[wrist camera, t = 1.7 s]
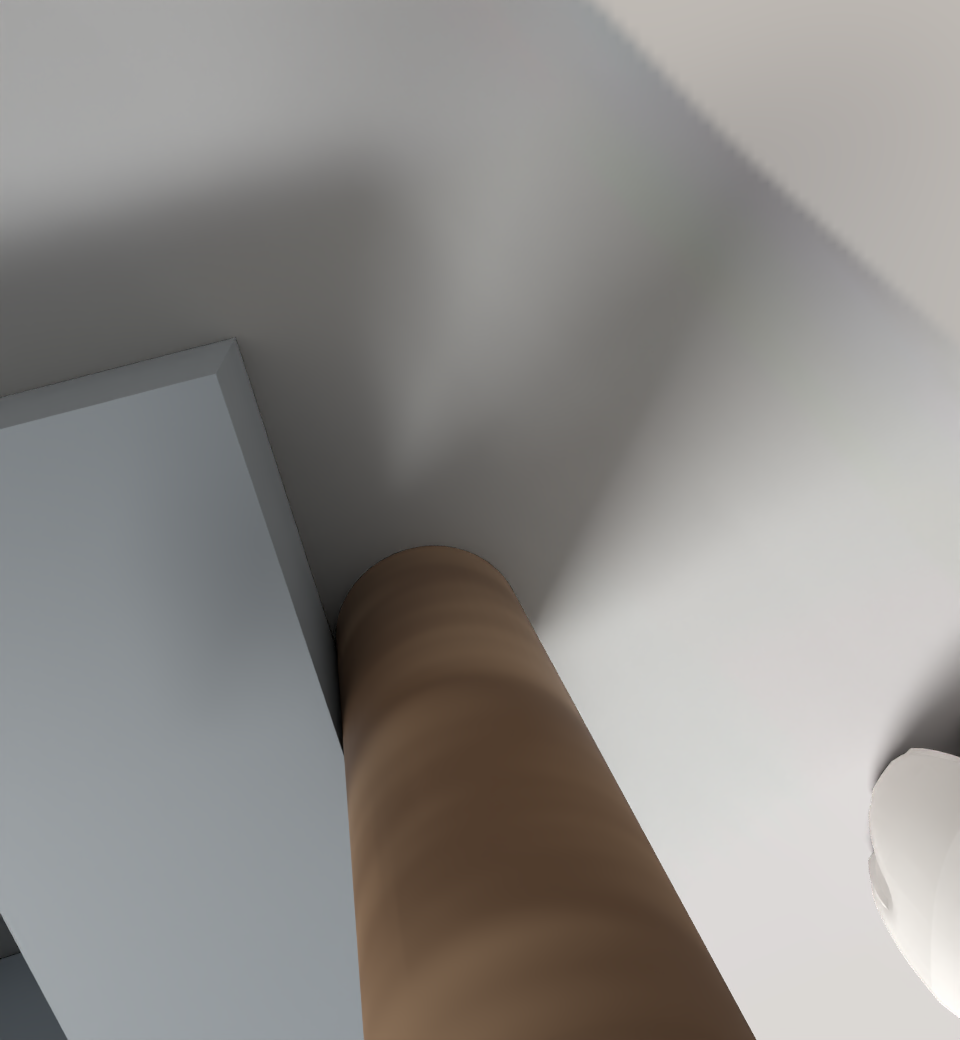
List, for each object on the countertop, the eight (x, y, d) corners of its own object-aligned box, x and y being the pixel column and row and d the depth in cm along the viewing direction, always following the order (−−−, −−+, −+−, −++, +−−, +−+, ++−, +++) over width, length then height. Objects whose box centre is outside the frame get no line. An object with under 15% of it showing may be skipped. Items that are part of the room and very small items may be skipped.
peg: (364, 737, 20) (437, 1392, 9) (312, 576, 19) (321, 1113, 8) (537, 685, 21) (812, 1253, 9) (499, 523, 19) (769, 964, 8)
